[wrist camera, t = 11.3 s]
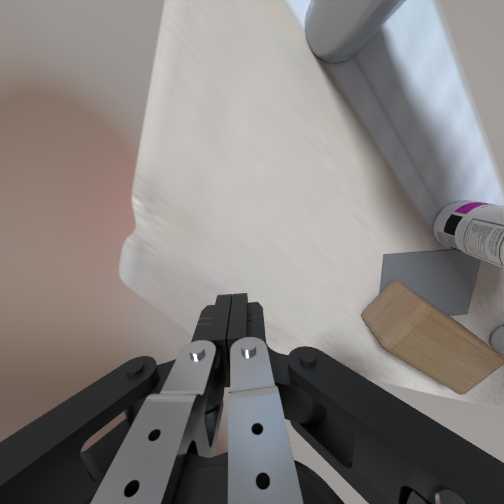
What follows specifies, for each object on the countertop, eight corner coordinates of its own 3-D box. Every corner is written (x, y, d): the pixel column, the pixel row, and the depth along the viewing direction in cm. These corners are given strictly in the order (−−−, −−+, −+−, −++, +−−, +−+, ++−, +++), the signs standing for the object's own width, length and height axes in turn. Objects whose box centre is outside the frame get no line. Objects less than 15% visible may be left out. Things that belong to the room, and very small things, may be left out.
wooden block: (393, 276, 47) (462, 325, 51) (357, 313, 49) (425, 357, 54) (429, 305, 37) (511, 362, 41) (382, 349, 40) (463, 399, 44)
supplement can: (457, 190, 42) (562, 201, 28) (487, 218, 44) (601, 242, 30) (421, 227, 44) (502, 256, 30) (451, 253, 46) (541, 291, 32)
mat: (383, 254, 46) (384, 254, 46) (481, 247, 46) (483, 248, 45) (376, 319, 50) (377, 320, 50) (465, 313, 50) (467, 314, 50)
